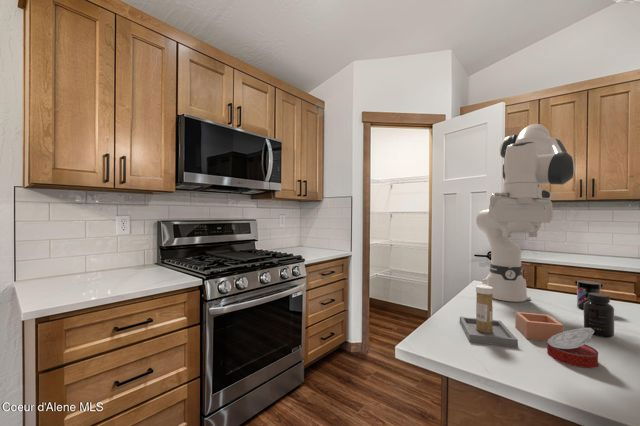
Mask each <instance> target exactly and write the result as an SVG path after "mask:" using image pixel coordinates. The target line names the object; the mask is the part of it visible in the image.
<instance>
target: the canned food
mask: <svg viewBox="0 0 640 426" xmlns="http://www.w3.org/2000/svg"><path fill="white" fill-rule="evenodd" d="M593 333H594V330H593V329H592V328H584V327H582V328H573V329H571V330H569V329H568V330H565V331H563V332H561V333H558V334H556V335H554V336H552V337H551V338H549V339H548V341H546V342H547V343H546V344H547V346H546V347H547V348H546V353H547V355H548V356H549V357H551V358H552V359H554V360H556V361H558V362H560V363H562V364H563V363H564V364H566V365H569V366H572V367H577V368H584V369H593V368H598V367H599V352H598V350H597V349H595V348H594V347H592V346H590V345H588V343H589V342H590V341H591V340H592V336H594V335H593Z"/></svg>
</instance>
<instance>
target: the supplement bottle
mask: <svg viewBox="0 0 640 426" xmlns="http://www.w3.org/2000/svg"><path fill="white" fill-rule="evenodd" d="M588 299H589V301H587V302H585V303H584V310H583V328H592V329H593V330H594V333H593V335H592V336H595V337H600V338H606V339H607V338H613V337H614V336H615V308H614V306H613V305H612V304H610V302H611V300H610V296H609V294H605V293H601V292H600V293H588Z"/></svg>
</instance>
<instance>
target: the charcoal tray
mask: <svg viewBox="0 0 640 426" xmlns="http://www.w3.org/2000/svg"><path fill="white" fill-rule="evenodd" d="M459 324H460V326H461V329H462V330H463V332H464V335H465V336H466V338H467V340H468V341H469V342H472V343H479V344H486V345H487V344H488V345H497V346H505V347H513V348H518V347H519V341H518V340H519V339H518V338H517V337H516V336H515V335H514V334H513V333H512V332H511V331H510V329H509V328H508V327H506V325H505V324H504V323H503V322H502V321H501V320H496V319H495V320H494V319H493V321H492V329H493V332H492V333H483V332H480V331H478V330H477V329H476V317H467V316H459Z"/></svg>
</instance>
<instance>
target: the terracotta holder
mask: <svg viewBox="0 0 640 426" xmlns="http://www.w3.org/2000/svg"><path fill="white" fill-rule="evenodd" d="M514 314H515V317H514V318H515V324H514V325H515V326H514V327H515V329H516V330H517V331H518V332H519V333H520V334H521V335H522V336H523V337H524V338H525V339H526V340H532V339H533V340H532V341H542V342H547V341H548V339H549V338H551V337H552V336H554V335H556V334H558V333H561V332H564V324H562V323H561V322H559V321H558V320H557V319H556V318H554V317H552V316H551V315H549V314H543V313H534V312H533V313H532V312H531V313H530V312H522V311H521V312H520V311H515V313H514Z"/></svg>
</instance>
